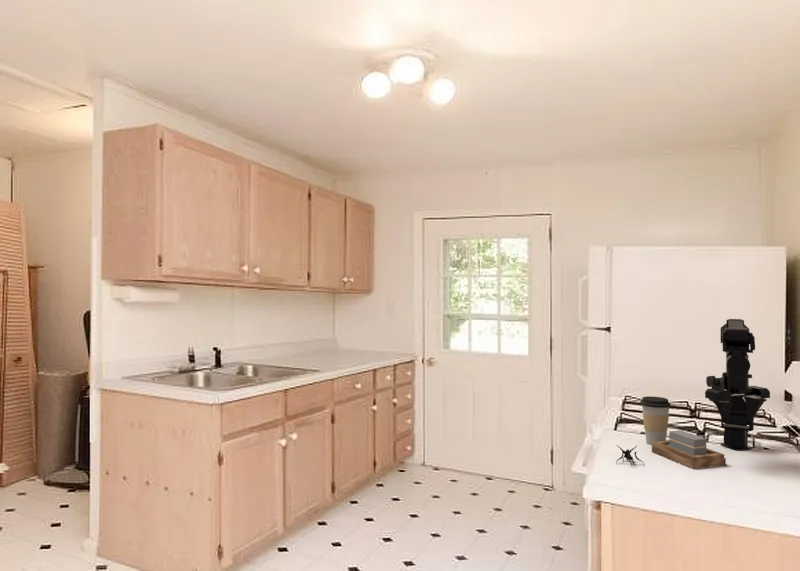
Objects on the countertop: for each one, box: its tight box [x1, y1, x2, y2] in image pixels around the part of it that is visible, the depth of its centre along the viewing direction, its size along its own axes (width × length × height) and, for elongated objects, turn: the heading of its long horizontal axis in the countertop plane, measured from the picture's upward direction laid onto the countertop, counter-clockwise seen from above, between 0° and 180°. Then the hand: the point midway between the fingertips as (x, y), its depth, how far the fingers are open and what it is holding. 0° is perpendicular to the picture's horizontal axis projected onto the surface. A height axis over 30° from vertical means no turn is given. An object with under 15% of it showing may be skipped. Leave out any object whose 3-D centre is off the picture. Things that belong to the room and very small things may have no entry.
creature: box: [615, 444, 645, 466], centre depth 161 cm, size 8×5×8 cm
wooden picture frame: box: [651, 439, 727, 470], centre depth 166 cm, size 12×16×3 cm
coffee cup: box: [639, 395, 672, 446], centre depth 182 cm, size 9×9×15 cm
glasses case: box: [668, 429, 708, 456], centre depth 166 cm, size 4×10×5 cm, turn 15°
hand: (737, 422), depth 162 cm, fingers open, 9 cm apart
